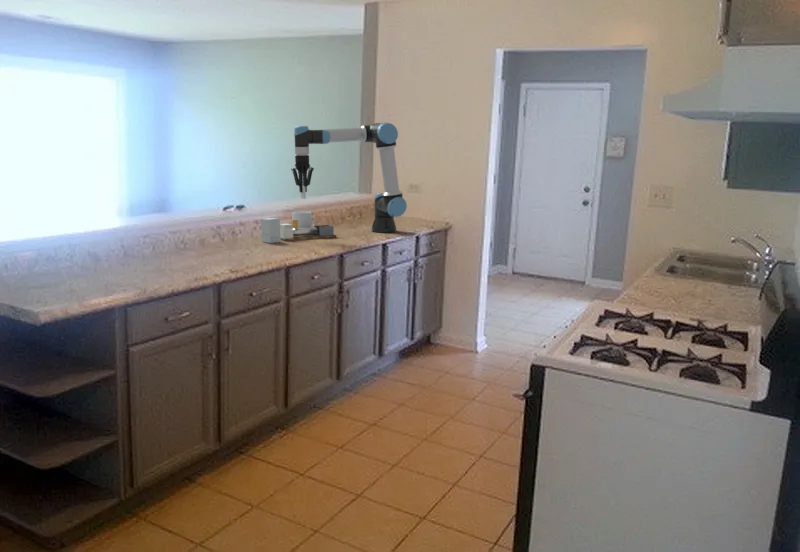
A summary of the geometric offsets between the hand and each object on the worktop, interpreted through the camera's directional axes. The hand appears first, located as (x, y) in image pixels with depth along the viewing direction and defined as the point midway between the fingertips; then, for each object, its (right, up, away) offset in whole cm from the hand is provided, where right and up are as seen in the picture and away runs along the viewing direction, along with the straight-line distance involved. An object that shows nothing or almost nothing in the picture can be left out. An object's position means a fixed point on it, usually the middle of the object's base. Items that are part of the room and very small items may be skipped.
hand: (303, 198), depth 373 cm
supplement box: (-16, -25, -10) cm, 31 cm away
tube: (-2, -20, +3) cm, 21 cm away
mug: (-3, -19, +20) cm, 28 cm away
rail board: (+1, -22, +6) cm, 22 cm away
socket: (-9, -22, -2) cm, 24 cm away
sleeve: (+10, -20, +11) cm, 25 cm away
